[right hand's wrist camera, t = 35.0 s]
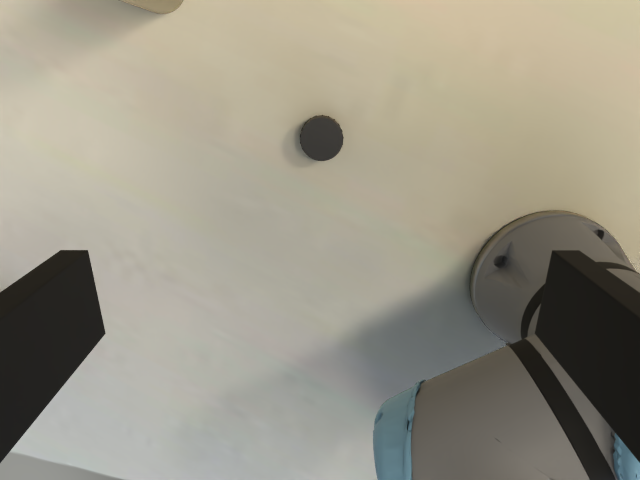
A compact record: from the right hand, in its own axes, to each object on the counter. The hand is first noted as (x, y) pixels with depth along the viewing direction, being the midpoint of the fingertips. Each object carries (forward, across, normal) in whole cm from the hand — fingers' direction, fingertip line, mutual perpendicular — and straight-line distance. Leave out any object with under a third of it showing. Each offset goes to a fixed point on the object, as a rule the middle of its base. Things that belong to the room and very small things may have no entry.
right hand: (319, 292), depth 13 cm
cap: (+29, 0, 0) cm, 29 cm away
